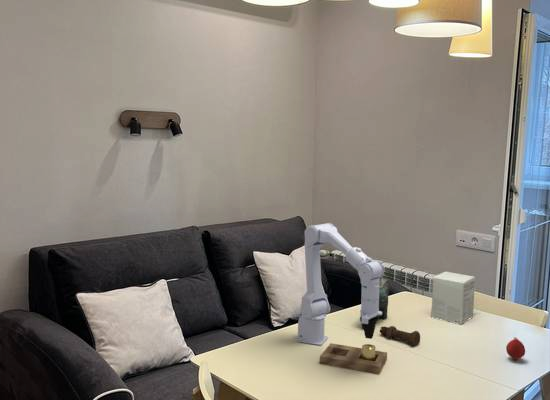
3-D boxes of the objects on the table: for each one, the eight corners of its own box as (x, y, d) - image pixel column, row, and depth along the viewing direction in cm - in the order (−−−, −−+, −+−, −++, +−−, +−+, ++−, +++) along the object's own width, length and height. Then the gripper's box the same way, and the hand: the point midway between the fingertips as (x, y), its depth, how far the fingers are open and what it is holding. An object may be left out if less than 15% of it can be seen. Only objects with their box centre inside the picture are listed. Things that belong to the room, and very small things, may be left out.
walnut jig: (319, 363, 173) (319, 356, 173) (330, 349, 184) (330, 343, 184) (379, 374, 166) (379, 366, 165) (387, 359, 177) (387, 352, 176)
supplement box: (474, 316, 219) (476, 276, 217) (461, 325, 209) (463, 282, 207) (443, 309, 228) (445, 270, 225) (430, 317, 218) (432, 276, 216)
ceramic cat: (378, 314, 221) (380, 268, 218) (393, 318, 217) (394, 271, 215) (357, 328, 205) (358, 279, 202) (372, 332, 201) (373, 282, 199)
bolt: (382, 339, 200) (418, 348, 189) (376, 335, 196) (411, 345, 186) (386, 324, 201) (422, 333, 190) (380, 320, 198) (416, 329, 187)
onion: (523, 357, 178) (524, 335, 177) (525, 364, 173) (527, 341, 172) (504, 355, 180) (506, 333, 179) (506, 362, 175) (507, 339, 174)
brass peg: (359, 365, 172) (360, 348, 171) (363, 360, 176) (364, 343, 175) (373, 368, 170) (373, 350, 169) (376, 362, 174) (377, 345, 173)
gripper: (377, 306, 162) (376, 347, 164) (386, 293, 175) (385, 332, 177) (355, 303, 165) (354, 344, 167) (366, 290, 178) (365, 329, 180)
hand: (369, 337), depth 172 cm, fingers closed
